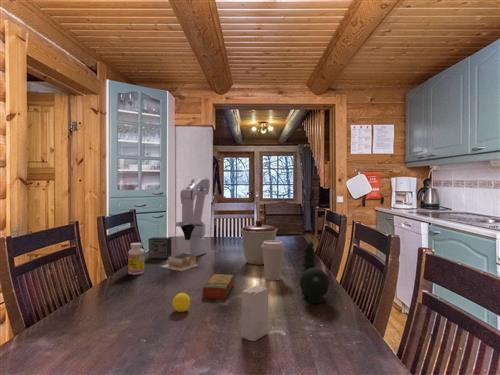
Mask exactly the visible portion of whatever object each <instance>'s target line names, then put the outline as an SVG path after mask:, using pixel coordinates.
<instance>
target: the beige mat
mask: <svg viewBox="0 0 500 375" xmlns="http://www.w3.org/2000/svg"><path fill="white" fill-rule="evenodd" d="M198 266H199V265H198V264H197V263H196V264H193V265H190V266H186V267H183V268H178V267H173V266H169V263H166V264H164V265H160V268H163V269H168V270H174V271H177V272H184V271H187V270H190V269H193V268H196V267H198Z"/></svg>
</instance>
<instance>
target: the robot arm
mask: <svg viewBox="0 0 500 375" xmlns="http://www.w3.org/2000/svg"><path fill="white" fill-rule="evenodd" d="M210 182H211V180H210V179H209V177H205V178H204V177H201V178H199V177H196V178H195V177H192V179H191V182H190V183H189V185H187V187H186V188H183V189H182V190H180V204H181V221H177V222H175V227H178V228H179V227H180V229H181V231H182V232H183V236H184V240H185V241H188V252H187V253H185V254H191V255H196V257H198V256H201V255H205V254H208V252H207V239H206V238H204V237H205V235H206V224H205V223H204V222H203V221H202V218H203V213H204V212H203V211H204V206H205V205H204V204H205V199H206V196H207V195H208V194H209V192H210V186H211V183H210ZM194 201H195V203H194Z"/></svg>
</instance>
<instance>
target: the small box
mask: <svg viewBox="0 0 500 375" xmlns="http://www.w3.org/2000/svg"><path fill="white" fill-rule="evenodd" d="M147 240H148V259H149V260H155V259H156V260H169V257H171V256H173V255H172V254H173V253H172V237H171V236H170V237H169V236H168V237H166V236H165V237H162V236H161V237H160V236H157V237H155V236H153V237H150V238H148V239H147Z"/></svg>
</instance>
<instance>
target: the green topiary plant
mask: <svg viewBox="0 0 500 375" xmlns="http://www.w3.org/2000/svg"><path fill="white" fill-rule="evenodd" d="M305 245H306V247H304V249H303V251H304V254H303V255H302V258H303V259H304V261H303V263H302V267H304V268H303V271H302V274H301V276H300V279H299V286H300V288H301V294H302V295H303V296H305V297H307V296H308V297H307V300H308V302H309V303H310V302H311V304H314V303H317V304H320V303H321V302H322V299H323V298H322V296H324V295H326V294H327V293H328V290H329V287H330V280H329V277H328V275H327V274H326V272H325V271H323V270H322V269H320V268H318V267H316V262H315V258H316V256H315V254H314V252H315V250H314V243H313V241H307V243H306V244H305Z"/></svg>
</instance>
